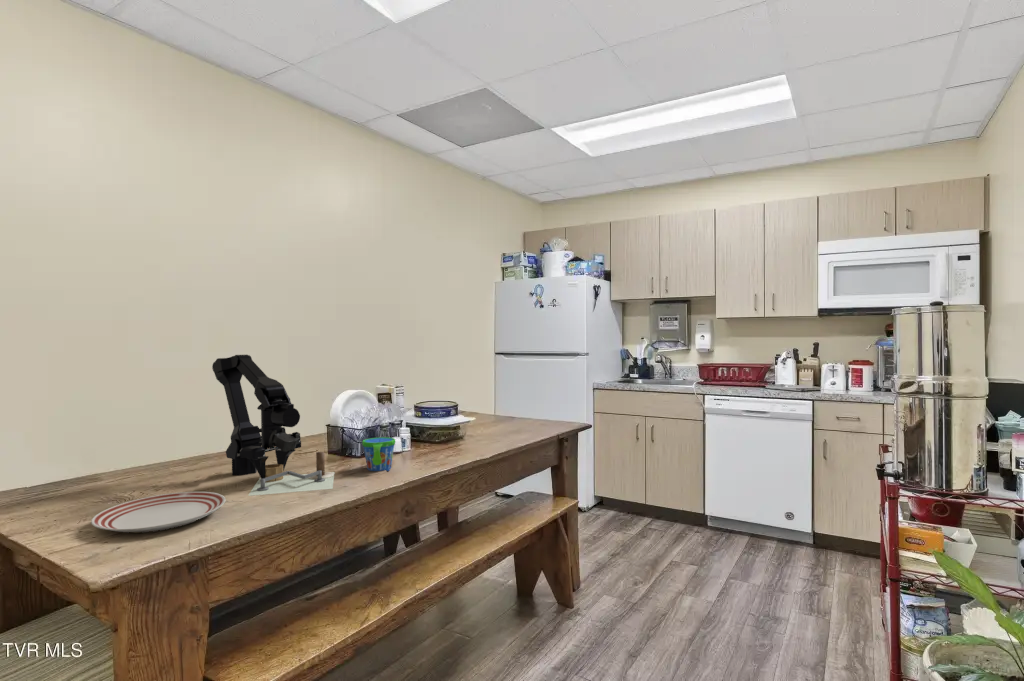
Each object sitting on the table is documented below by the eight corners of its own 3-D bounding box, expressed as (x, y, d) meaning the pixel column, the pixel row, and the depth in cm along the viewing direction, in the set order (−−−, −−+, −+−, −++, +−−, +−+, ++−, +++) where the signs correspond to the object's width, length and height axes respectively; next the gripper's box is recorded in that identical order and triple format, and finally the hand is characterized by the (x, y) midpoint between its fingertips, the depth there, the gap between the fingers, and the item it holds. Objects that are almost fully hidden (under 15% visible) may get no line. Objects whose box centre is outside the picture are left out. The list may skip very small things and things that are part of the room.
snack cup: (368, 465, 190) (368, 435, 190) (399, 464, 190) (399, 435, 190) (357, 476, 174) (356, 444, 174) (391, 476, 175) (390, 443, 174)
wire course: (247, 498, 151) (247, 484, 151) (259, 480, 172) (259, 468, 172) (332, 491, 158) (332, 478, 158) (334, 474, 178) (334, 462, 178)
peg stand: (306, 480, 167) (305, 455, 167) (307, 474, 175) (307, 450, 175) (333, 478, 170) (333, 454, 170) (334, 472, 177) (334, 449, 177)
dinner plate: (168, 543, 119) (168, 528, 119) (59, 538, 123) (59, 523, 123) (249, 505, 146) (249, 492, 146) (157, 502, 150) (157, 489, 150)
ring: (260, 482, 166) (259, 469, 166) (263, 477, 171) (262, 464, 171) (281, 480, 167) (281, 467, 167) (284, 476, 173) (283, 463, 173)
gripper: (266, 431, 158) (267, 486, 158) (314, 421, 175) (314, 471, 175) (238, 428, 162) (238, 482, 162) (287, 420, 179) (288, 468, 179)
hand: (272, 475), depth 169 cm, fingers open, 7 cm apart
